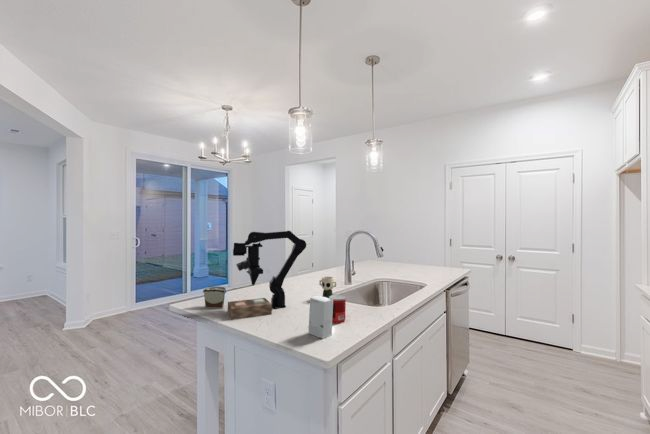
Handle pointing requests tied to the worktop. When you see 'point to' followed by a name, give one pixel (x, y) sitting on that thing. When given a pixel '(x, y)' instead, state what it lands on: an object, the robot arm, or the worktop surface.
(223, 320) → the worktop surface
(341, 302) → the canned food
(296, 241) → the robot arm
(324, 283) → the character mug
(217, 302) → the food container
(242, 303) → the terracotta key
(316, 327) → the skincare box
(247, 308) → the key console
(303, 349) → the worktop surface
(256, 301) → the sage key
